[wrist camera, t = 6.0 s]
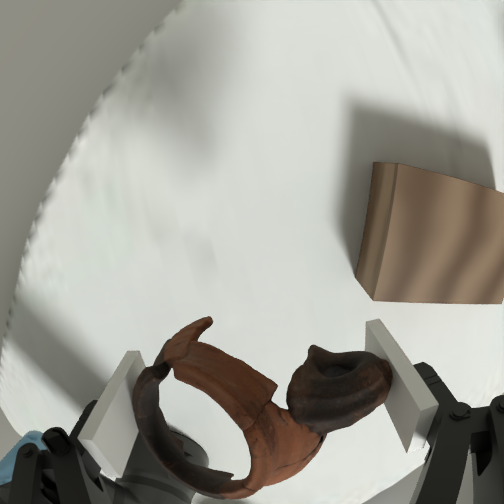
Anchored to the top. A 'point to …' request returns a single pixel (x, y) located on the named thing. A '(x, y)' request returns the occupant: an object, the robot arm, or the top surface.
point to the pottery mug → (257, 408)
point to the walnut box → (431, 239)
